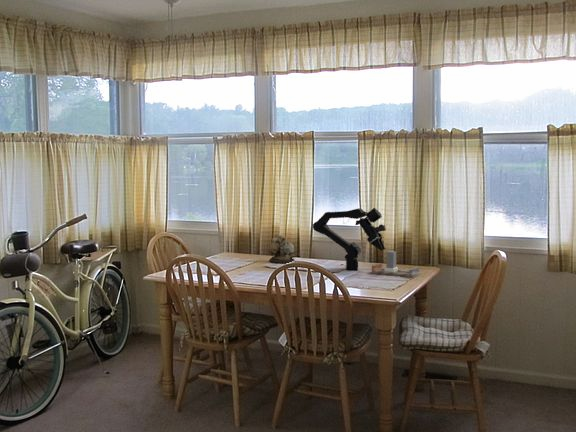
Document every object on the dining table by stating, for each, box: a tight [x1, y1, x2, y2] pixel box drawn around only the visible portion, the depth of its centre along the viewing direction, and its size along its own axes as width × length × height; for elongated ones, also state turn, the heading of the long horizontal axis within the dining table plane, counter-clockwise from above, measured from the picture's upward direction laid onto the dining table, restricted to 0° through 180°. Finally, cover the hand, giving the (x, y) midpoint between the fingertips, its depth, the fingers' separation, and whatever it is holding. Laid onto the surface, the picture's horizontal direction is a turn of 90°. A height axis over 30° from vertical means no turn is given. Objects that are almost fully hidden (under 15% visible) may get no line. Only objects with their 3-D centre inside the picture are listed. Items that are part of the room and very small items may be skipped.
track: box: [371, 262, 420, 279], centre depth 330 cm, size 24×10×4 cm, turn 58°
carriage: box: [384, 250, 399, 272], centre depth 331 cm, size 6×6×11 cm
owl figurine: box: [267, 234, 296, 265], centre depth 369 cm, size 18×12×17 cm, turn 73°
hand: (383, 249), depth 336 cm, fingers open, 9 cm apart
